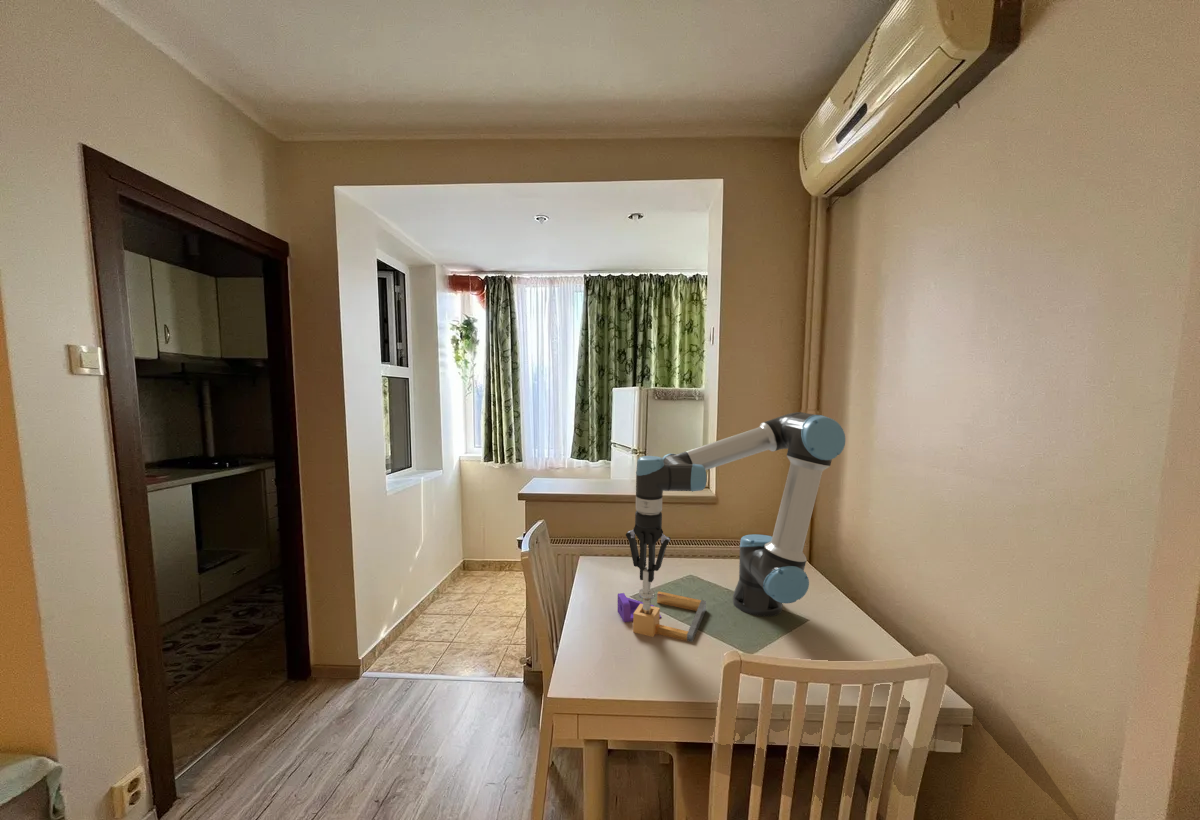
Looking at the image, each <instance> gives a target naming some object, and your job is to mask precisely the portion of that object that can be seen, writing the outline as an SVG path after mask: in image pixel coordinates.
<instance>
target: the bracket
mask: <svg viewBox="0 0 1200 820" xmlns="http://www.w3.org/2000/svg"><path fill="white" fill-rule="evenodd" d="M640 604H643V601H640V600H636V599H634V598H630V597H627V595H626V594H625V593H624V592H622V593H621V592H620V593H617V613H618V615H619V617H620V618H621V620H622V622H623V623H628V622H629V623H630V622H633V613H634V612H635V610H636V609H637V607H638V606H639V605H640ZM651 606H653V607H655V605H653V604H651ZM660 619H662V616H661V615H660Z"/></svg>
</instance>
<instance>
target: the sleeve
mask: <svg viewBox="0 0 1200 820" xmlns="http://www.w3.org/2000/svg"><path fill="white" fill-rule="evenodd" d="M660 613H661V609H660V607H657V606H654V607H653V606H651V614H650V615H649V614H644V613H643V604H640V605H639V606H638V607H637V609H636V610H635V612H634V613H633V621H632V625H633V627H632V632H633V633H635V634H638V635H644V636H646V637H651V638H654V637H655V635H656V634H655V630H656V625H657V624H660V622H661V621H660V619H661V618H660V616H661V614H660Z"/></svg>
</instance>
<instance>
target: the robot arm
mask: <svg viewBox="0 0 1200 820" xmlns="http://www.w3.org/2000/svg"><path fill="white" fill-rule="evenodd" d="M845 446H846V434H845V431H844V428H843V427H842V426H841V424H840V423H839V422H838V421H837V420H835V419H833V418H831V417H828V416H825V415H821V414H814V413H813V414H812V413H806V412H801V411H799V412H797V411H795V412H791V413H787V414H783V415H780V416H777V417H775V418H772V419H769V420H765V421H762V422H761V423H760V424H759V426H758V427H754V428H752V429H749V430H747V431H744V432H741V433H736V434H734V435H732V436H728V437H725V438H722V439H719V440H716V441H713V442H710V443H706V444H704V445H701V446H698V447H695V448H692V449H689V450H686V451H683V452H680V453H668V454H665V455H663V457H661V456H656V455H655V456H654V455H642V456H640V457H639V458H638V459H637V462H636V472H635V510H636V511H635V515H634V516H635V517H634V526H633V529H632V530H628V531H627V532H626V533H625V537H626V538H627V540H628V544H629V549H630V555H631V558H632V563H633V567H637V568H639V580H640V581H642V589H643V593H645V594H648V593H649V591H650V589H651V583H653V582H654V581H655V580H654V579H655V571H656V572H658V571H659V570H660V568H661V567H662V563H663V560H664V556H665V553H666V550H667V545H668V544H669V543H670V541H672V540H671V537H670V536H666V535H665V534H664V531H663V527H662V523H663V513H662V511H663V495H664V493H663V492H691V493H692V492H700V491H703V490H704V489H705V488H706V486H707V470H710V469H711V470H712V469H713V468H717V467H720V466H723V465H726V464H729V463H731V462H735V461H738V460H741V459H745V458H747V457H750V456H753V455H757V454H759V453H762V452H766V451H770V452H775V451H779V450H785V449H786V450H787V451H786V458H787V459H788V461H789V462H790V463H789V468H788V472H787V475H786V480H785V485H784V489H783V493H782V496H781V501H780V503H779V504H780V505H779V509H778V513H777V517H776V521H775V525H774V528H773V534H772V536H771V535H766V534H758V533H756V534H754V533H753V534H746V535H743V536H742V537H741V538H740V543H739V567H738V568H739V569H738V570H739V572H738V581H737V583H736V586H735V589H734V592H733V594H732V604H733V605H734V607H736V608H737V609H738V610H739V611H741V612H743V613H745V614H749V615H753V616H756V617H757V616H758V617H774V616H778V615H779V613H780V614H781V613H782V612H783V604H793V603H795V602H797V601H798V600H801V599H802V598H803V597H804V596H805V595H806V594H807V592H808V590H809V588H810V579H809V577H808V575H807V573H806V571H805V567H806V565H807V564H806V563H807V557H806V555H805V554H804V552H803V551H804V547H805V542H806V539H807V534H808V532H809V531H808V530H809V527H810V523H811V518H812V515H813V510H814V508H815V507H814V506H815V503H816V499H817V495H818V491H819V488H820V483H821V480H822V475H823V472H824V471H825V470H827V469H829V468H831V464H832V460H834V459H835V458H837V457H838V455H839V456H840V455H841V453H842V452H843V450H844V448H845ZM636 537H637V538H636ZM637 539H638V541H639V547H638V544H637ZM659 540H660V543H661V545H660V548H659V551H658V554H657V557H656V545H657V542H658V541H659ZM647 547H648V548H647ZM638 548H639V549H638ZM647 549H648V557H647ZM647 558H648V560H647ZM647 561H648V565H647ZM781 611H782V612H781Z"/></svg>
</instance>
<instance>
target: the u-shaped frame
mask: <svg viewBox="0 0 1200 820" xmlns="http://www.w3.org/2000/svg"><path fill="white" fill-rule="evenodd" d="M656 596H657V597H656V604H662V605H665V606H671V607H676V608H680V609H686V610H691V611H695V614H694V617H693V619H692V622H691V623H690V626H689V629H688V630H683V629H679V628H676V627H672V626H667V625H664V624H660V623H659V624H657V625H656V630H655V635H661V636H664V637H669V638H673V639H677V640H682V641H687V642H691V643H693V642H694V639H695V636H696V635H697V632H698V630H699V627H700V625H701V623H702V621H703V618H704V616H705V613H706V611H707V600H701V599H698V598H694V597H693V598H691V597H687V596H682V595H678V594H673V593H669V592H664V591H657V594H656Z"/></svg>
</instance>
